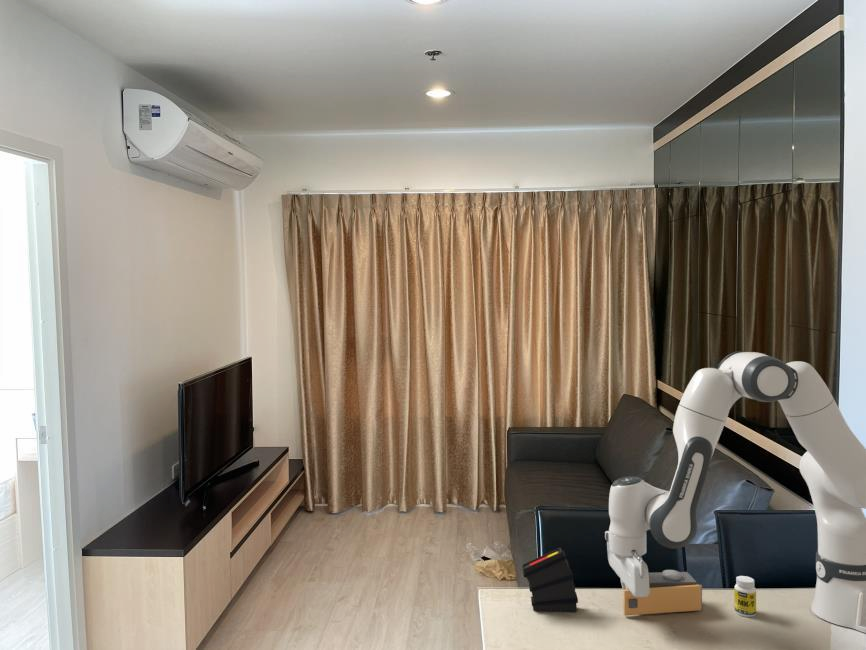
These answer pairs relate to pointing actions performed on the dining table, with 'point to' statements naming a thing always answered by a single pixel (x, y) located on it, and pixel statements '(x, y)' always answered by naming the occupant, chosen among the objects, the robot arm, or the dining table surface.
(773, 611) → the dining table surface
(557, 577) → the magazine
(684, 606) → the side door
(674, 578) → the block
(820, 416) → the robot arm
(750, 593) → the supplement bottle
